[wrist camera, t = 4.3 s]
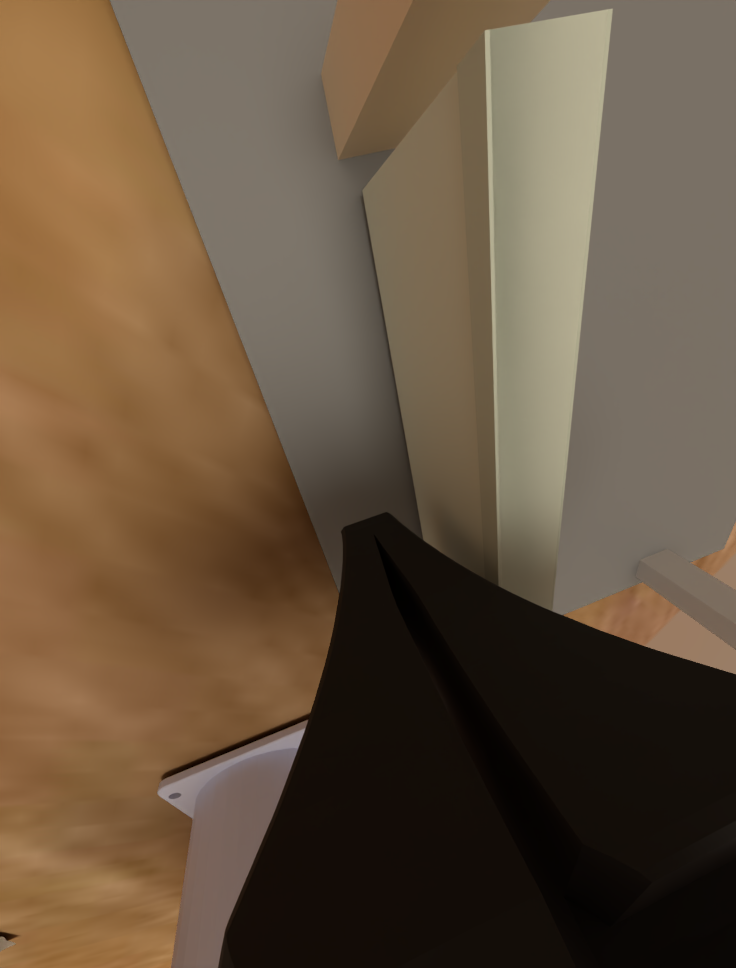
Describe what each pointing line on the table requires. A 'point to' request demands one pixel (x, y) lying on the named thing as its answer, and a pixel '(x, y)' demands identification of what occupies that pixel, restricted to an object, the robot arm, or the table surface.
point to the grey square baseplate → (353, 278)
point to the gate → (494, 290)
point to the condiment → (5, 943)
